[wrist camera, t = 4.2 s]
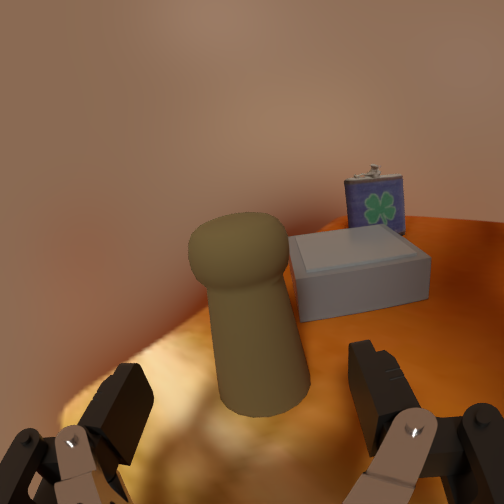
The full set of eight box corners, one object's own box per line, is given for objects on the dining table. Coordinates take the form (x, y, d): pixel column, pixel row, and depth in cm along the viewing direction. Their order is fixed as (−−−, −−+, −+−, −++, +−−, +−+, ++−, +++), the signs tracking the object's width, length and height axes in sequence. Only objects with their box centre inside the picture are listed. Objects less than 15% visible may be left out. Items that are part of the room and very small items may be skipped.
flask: (400, 230, 43) (396, 161, 40) (409, 235, 40) (406, 162, 37) (346, 239, 43) (339, 166, 40) (353, 245, 40) (346, 167, 37)
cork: (236, 431, 15) (182, 245, 11) (208, 373, 20) (167, 222, 17) (328, 391, 17) (317, 211, 13) (285, 345, 22) (263, 199, 19)
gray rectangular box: (384, 254, 35) (383, 221, 34) (428, 298, 24) (431, 254, 22) (289, 269, 36) (285, 234, 35) (300, 322, 25) (295, 276, 24)
